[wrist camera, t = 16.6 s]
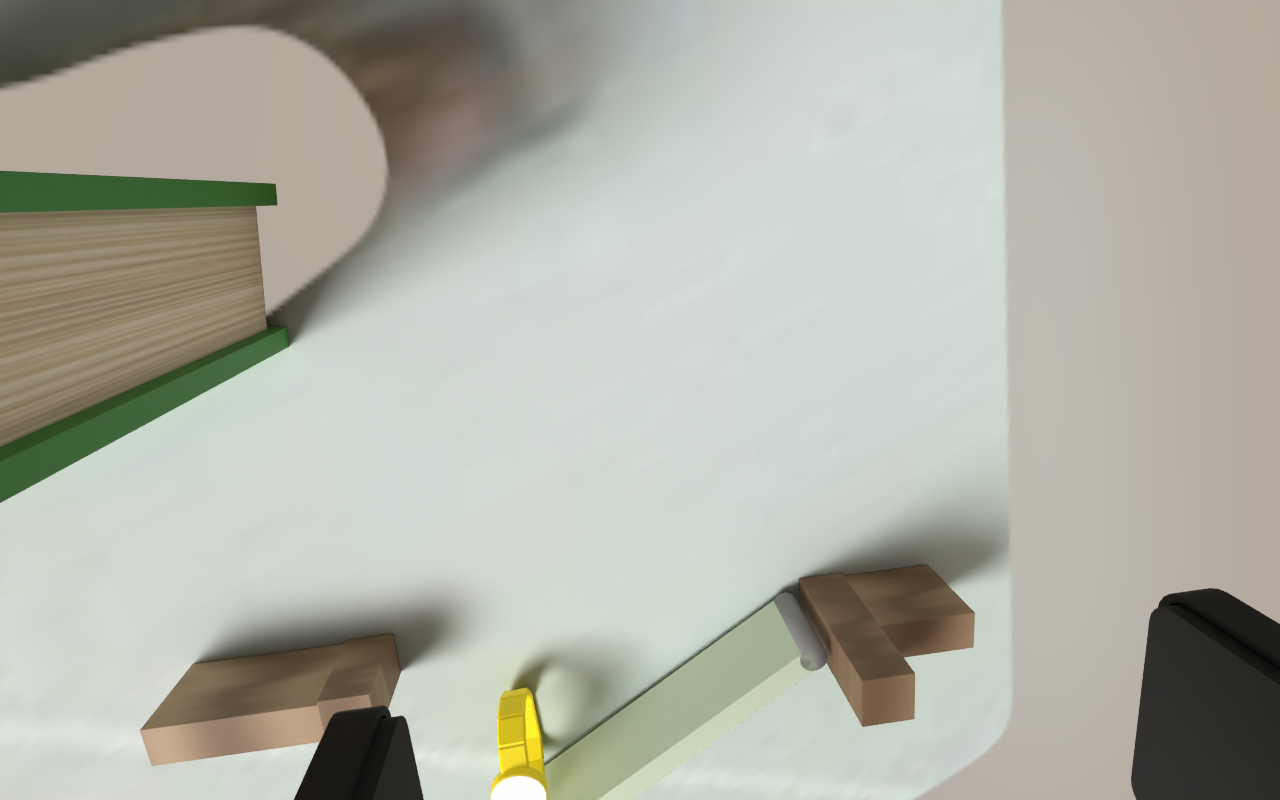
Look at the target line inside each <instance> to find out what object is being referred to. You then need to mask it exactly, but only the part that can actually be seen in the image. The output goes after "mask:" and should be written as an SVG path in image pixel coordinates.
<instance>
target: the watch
mask: <svg viewBox="0 0 1280 800" xmlns="http://www.w3.org/2000/svg"><path fill="white" fill-rule="evenodd" d="M497 719H498V722H497V731H498V747H499V750H498V753H499V762H500V771H501V772H500V773H499V774H498V775H497V776H496V778H495V779H494V781H493V784H492V786H491V795H490V796H491V800H547V791H548V788H547V781H546V779H545V766H544V754H543V744H542V735H541V734H542V733H541V731H540V727H539V723H538V718H537V714H536V709H535V704H534V700H533V694H532V693H531V691H530V690H529V689H528V688H521V689H516V690H511V691H506V692H504V693H503V694H502V696H501V698H500V700H499V707H498V717H497Z"/></svg>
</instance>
